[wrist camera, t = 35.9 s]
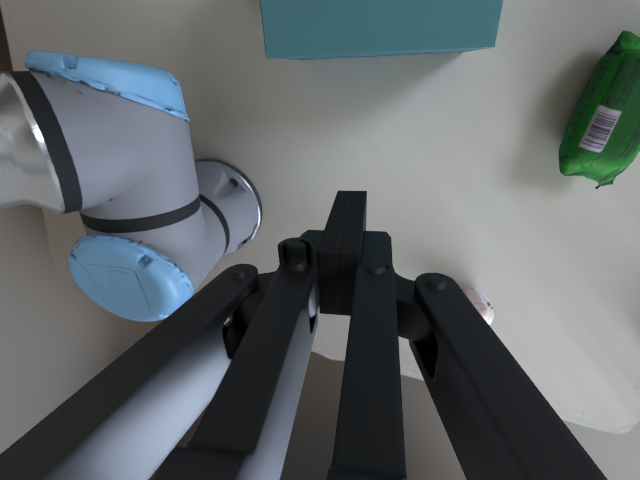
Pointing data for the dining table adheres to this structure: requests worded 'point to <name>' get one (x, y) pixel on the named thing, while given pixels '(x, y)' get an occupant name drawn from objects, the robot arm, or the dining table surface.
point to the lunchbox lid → (376, 26)
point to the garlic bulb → (480, 304)
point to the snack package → (606, 117)
